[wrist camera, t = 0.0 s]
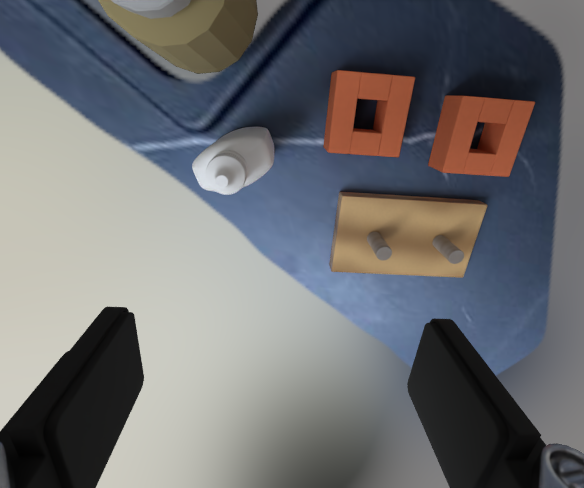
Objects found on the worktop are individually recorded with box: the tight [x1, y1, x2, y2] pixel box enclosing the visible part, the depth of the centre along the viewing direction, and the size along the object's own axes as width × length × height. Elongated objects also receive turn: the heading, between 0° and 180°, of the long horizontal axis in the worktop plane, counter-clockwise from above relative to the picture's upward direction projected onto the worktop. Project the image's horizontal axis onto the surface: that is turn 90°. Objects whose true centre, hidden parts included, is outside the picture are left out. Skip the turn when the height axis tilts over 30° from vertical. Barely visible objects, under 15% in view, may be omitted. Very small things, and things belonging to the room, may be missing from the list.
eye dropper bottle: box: [192, 127, 275, 195], centre depth 24 cm, size 4×6×12 cm
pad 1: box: [324, 70, 415, 157], centre depth 27 cm, size 6×6×3 cm
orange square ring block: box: [428, 95, 535, 177], centre depth 28 cm, size 6×6×3 cm
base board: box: [329, 192, 487, 277], centre depth 31 cm, size 8×14×5 cm, turn 86°
